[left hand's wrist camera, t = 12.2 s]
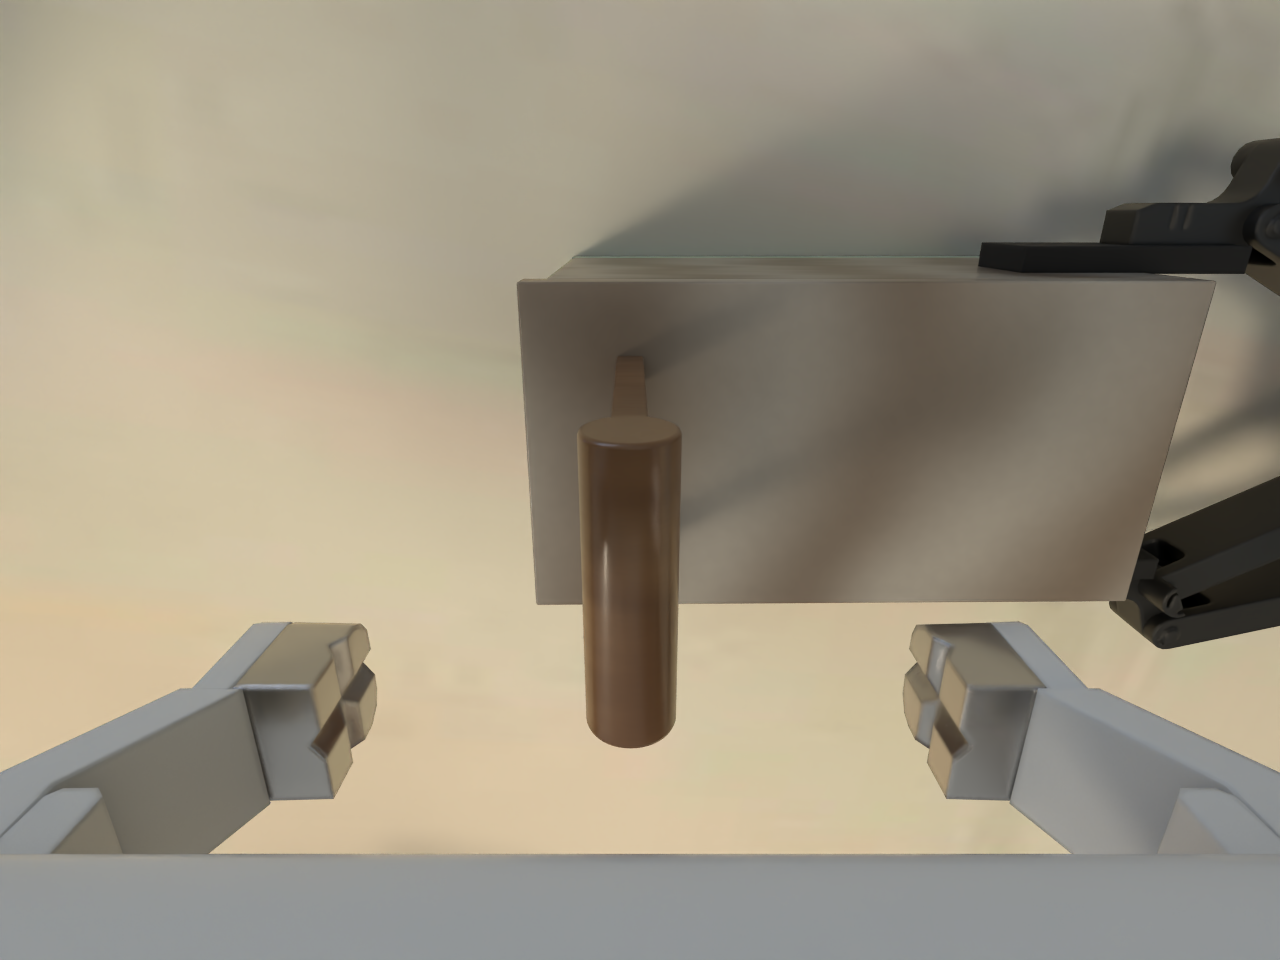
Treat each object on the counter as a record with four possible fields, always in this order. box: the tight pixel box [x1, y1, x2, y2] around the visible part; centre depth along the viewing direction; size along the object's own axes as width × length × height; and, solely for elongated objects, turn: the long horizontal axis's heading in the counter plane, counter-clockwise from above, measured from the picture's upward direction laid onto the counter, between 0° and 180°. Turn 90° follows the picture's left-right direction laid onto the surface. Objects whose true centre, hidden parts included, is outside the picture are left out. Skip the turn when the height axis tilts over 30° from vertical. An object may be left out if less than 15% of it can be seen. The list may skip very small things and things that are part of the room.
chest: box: [547, 256, 1185, 279], centre depth 25 cm, size 17×9×10 cm, turn 90°
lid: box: [517, 278, 1216, 748], centre depth 16 cm, size 18×9×9 cm, turn 90°
